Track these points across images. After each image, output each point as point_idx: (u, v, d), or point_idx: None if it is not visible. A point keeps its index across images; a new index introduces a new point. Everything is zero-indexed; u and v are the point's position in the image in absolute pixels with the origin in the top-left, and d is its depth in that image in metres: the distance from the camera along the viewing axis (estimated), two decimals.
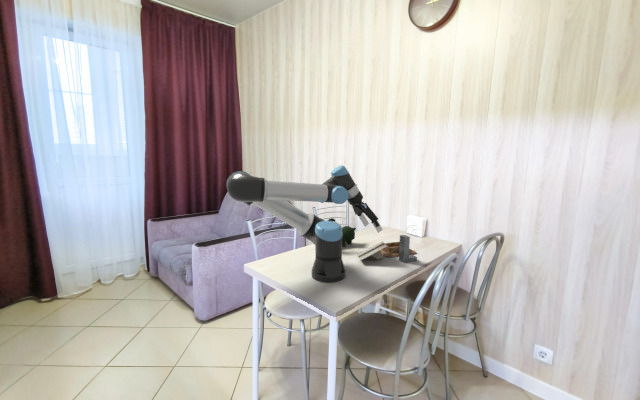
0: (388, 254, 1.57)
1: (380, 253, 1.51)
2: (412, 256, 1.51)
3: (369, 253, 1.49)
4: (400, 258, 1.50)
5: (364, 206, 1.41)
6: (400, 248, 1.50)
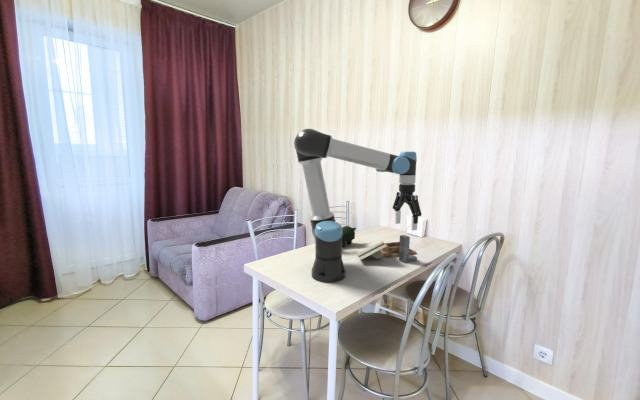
0: (388, 254, 1.57)
1: (380, 253, 1.51)
2: (412, 256, 1.51)
3: (369, 253, 1.49)
4: (400, 258, 1.50)
5: (414, 197, 1.38)
6: (400, 248, 1.50)
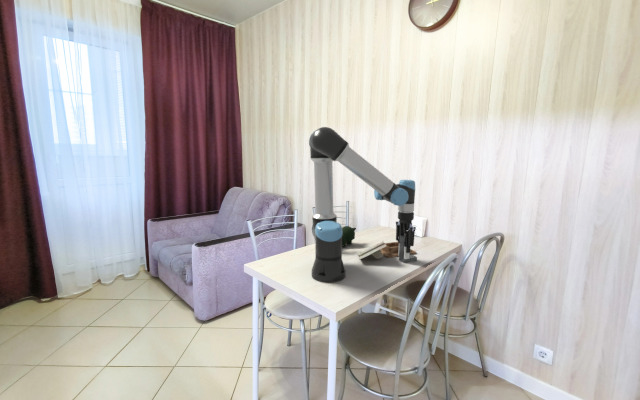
0: (388, 254, 1.57)
1: (380, 253, 1.51)
2: (412, 256, 1.51)
3: (368, 253, 1.49)
4: (400, 258, 1.50)
5: (412, 229, 1.41)
6: (400, 248, 1.50)
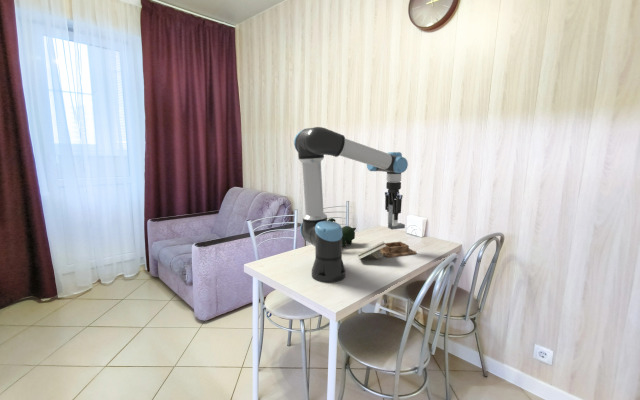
0: (388, 254, 1.57)
1: (380, 253, 1.52)
2: (400, 224, 1.63)
3: (368, 252, 1.50)
4: (389, 225, 1.62)
5: (399, 197, 1.53)
6: (389, 216, 1.61)
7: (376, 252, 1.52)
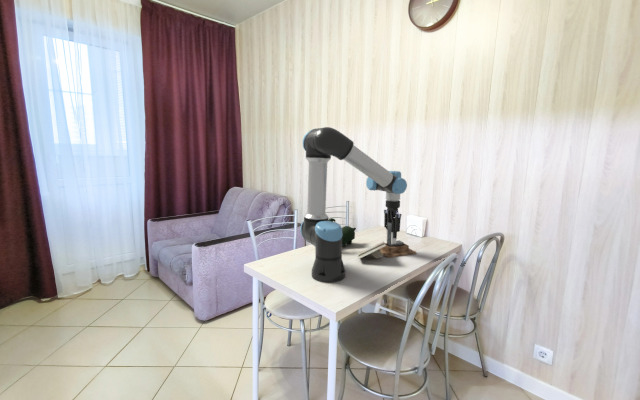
0: (388, 254, 1.57)
1: (379, 253, 1.52)
2: (399, 241, 1.64)
3: (368, 252, 1.50)
4: (388, 243, 1.63)
5: (398, 216, 1.54)
6: (388, 234, 1.63)
7: (376, 252, 1.52)
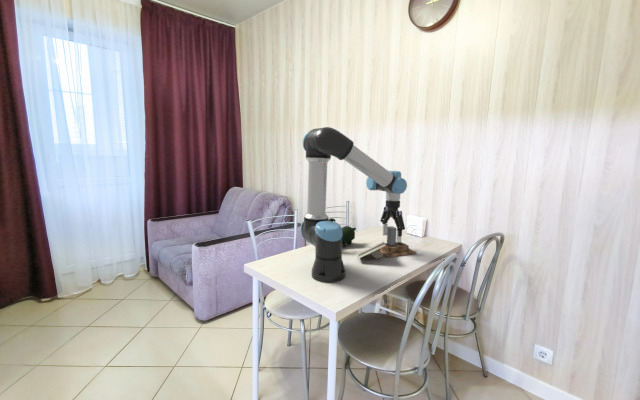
0: (388, 254, 1.57)
1: (379, 253, 1.52)
2: None
3: (368, 252, 1.50)
4: None
5: (399, 212, 1.53)
6: (387, 238, 1.63)
7: (376, 252, 1.52)
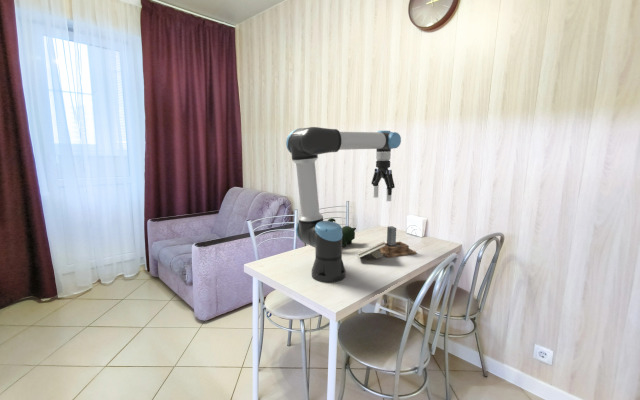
0: (388, 254, 1.57)
1: (379, 252, 1.52)
2: None
3: (367, 252, 1.50)
4: None
5: (389, 171, 1.54)
6: (387, 238, 1.63)
7: (376, 252, 1.52)
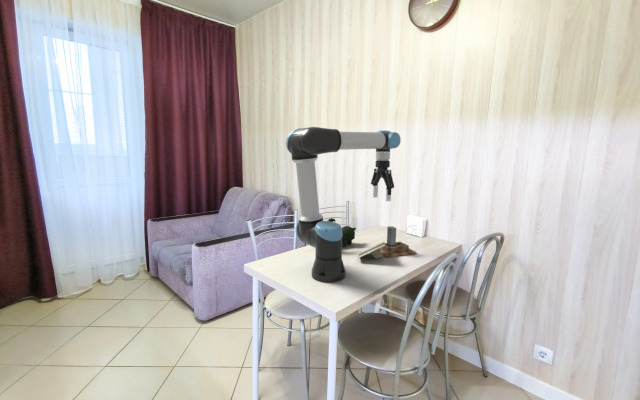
0: (388, 254, 1.57)
1: (379, 252, 1.52)
2: None
3: (367, 252, 1.51)
4: None
5: (388, 171, 1.55)
6: (387, 238, 1.63)
7: (376, 252, 1.52)
